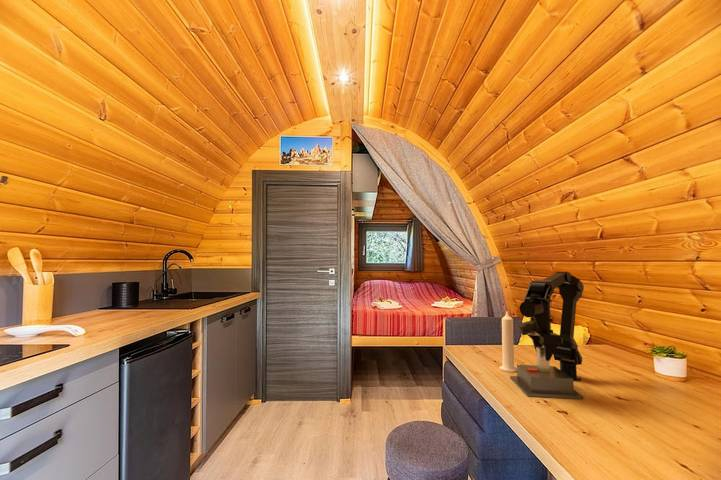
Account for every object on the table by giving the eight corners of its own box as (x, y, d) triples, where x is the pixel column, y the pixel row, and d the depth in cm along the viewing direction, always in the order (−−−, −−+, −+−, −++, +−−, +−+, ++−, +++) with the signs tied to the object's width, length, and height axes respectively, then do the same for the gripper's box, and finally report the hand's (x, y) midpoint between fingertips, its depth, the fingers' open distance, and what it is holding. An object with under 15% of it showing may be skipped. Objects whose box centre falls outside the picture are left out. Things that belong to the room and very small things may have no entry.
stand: (510, 378, 133) (509, 361, 133) (558, 380, 131) (557, 363, 131) (527, 396, 115) (527, 376, 115) (583, 399, 113) (582, 379, 113)
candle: (514, 367, 147) (512, 309, 149) (520, 372, 140) (518, 312, 142) (497, 366, 148) (496, 309, 149) (502, 371, 141) (501, 311, 142)
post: (536, 371, 125) (536, 346, 126) (546, 371, 125) (545, 347, 125) (540, 374, 122) (539, 349, 122) (550, 374, 121) (549, 349, 122)
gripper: (510, 310, 135) (511, 350, 134) (528, 318, 116) (529, 364, 115) (539, 311, 133) (540, 351, 132) (562, 319, 115) (564, 365, 114)
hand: (542, 357), depth 123 cm, fingers open, 8 cm apart
